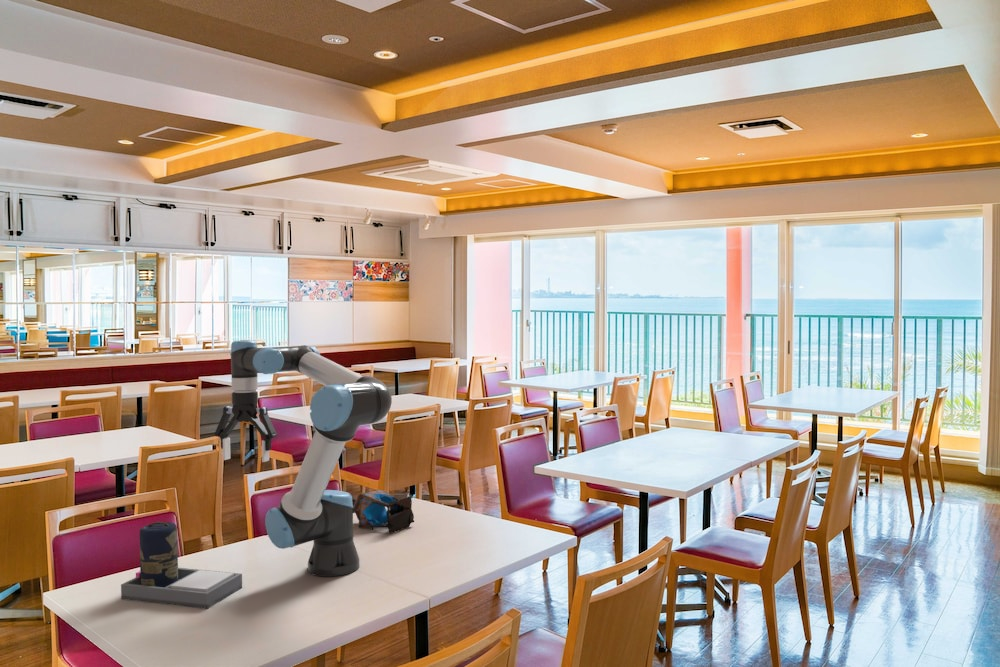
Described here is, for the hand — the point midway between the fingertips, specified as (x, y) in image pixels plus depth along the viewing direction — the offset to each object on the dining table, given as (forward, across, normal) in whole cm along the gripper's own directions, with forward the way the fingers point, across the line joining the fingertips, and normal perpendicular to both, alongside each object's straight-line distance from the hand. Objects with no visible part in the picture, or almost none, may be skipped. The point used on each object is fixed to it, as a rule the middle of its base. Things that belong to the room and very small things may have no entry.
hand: (246, 460), depth 226 cm
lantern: (+32, -22, -46) cm, 60 cm away
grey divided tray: (+32, +3, +26) cm, 41 cm away
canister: (+31, +11, +26) cm, 41 cm away
